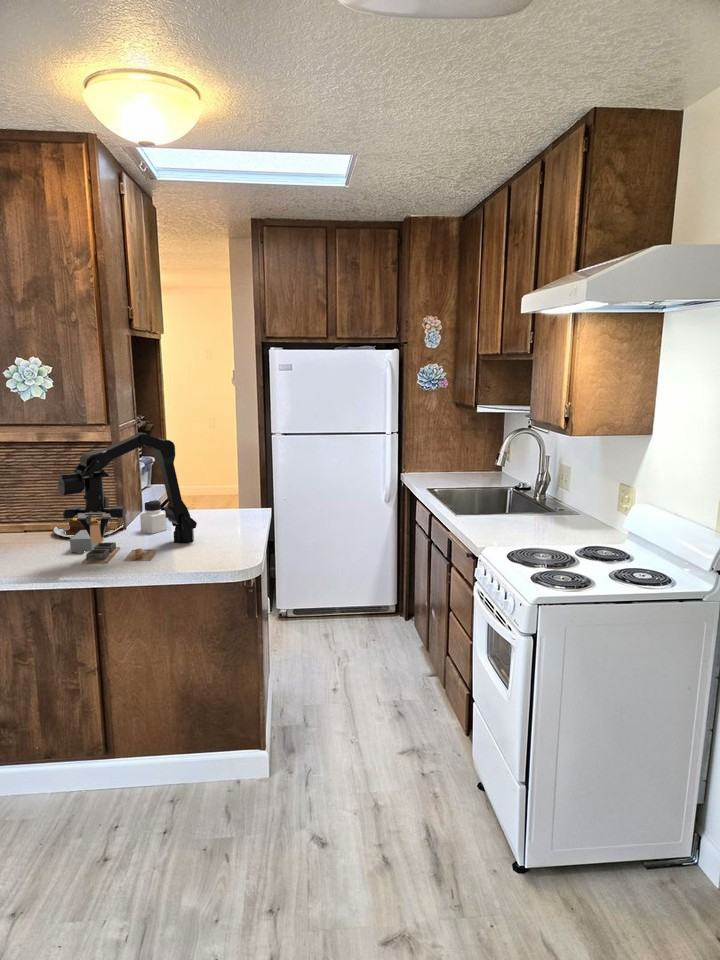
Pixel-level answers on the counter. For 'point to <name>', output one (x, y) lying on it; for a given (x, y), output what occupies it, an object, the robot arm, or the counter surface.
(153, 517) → the medicine bottle
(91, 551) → the socket board
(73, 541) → the housing
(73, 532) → the food on plate
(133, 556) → the plate
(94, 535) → the tan rectangular block
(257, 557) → the counter surface
